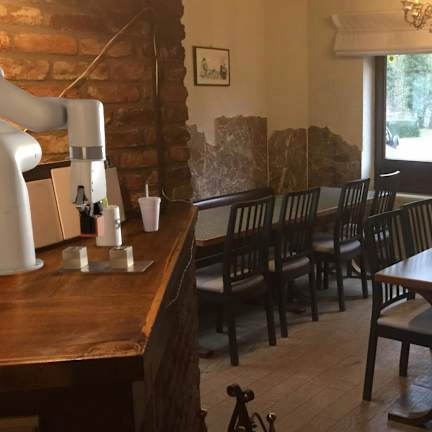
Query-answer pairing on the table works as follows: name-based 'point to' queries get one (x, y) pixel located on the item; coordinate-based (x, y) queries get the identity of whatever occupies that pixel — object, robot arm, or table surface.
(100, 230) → the three-striped orange cube
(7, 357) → the table surface
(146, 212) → the smoothie
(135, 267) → the letter board
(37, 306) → the table surface
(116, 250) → the tile
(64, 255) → the tile
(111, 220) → the candle
